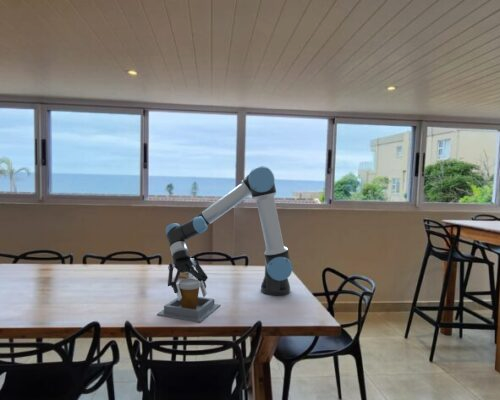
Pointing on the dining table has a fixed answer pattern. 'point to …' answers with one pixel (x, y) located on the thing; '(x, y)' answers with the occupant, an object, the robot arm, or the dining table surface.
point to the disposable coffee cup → (189, 293)
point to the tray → (190, 310)
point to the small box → (186, 274)
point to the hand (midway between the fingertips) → (192, 297)
